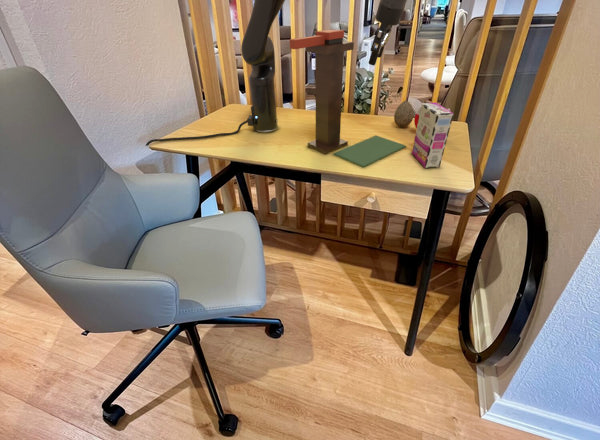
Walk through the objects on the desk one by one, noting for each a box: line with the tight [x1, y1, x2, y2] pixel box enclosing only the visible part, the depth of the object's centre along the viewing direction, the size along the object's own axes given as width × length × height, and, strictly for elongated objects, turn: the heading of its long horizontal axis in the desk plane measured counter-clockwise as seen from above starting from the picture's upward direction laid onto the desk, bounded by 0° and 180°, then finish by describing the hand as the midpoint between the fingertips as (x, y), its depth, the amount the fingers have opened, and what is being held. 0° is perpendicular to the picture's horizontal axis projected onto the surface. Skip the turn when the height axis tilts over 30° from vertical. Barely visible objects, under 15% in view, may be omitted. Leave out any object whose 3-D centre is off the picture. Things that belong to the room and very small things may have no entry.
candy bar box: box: [411, 102, 455, 169], centre depth 93 cm, size 11×5×16 cm, turn 5°
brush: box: [289, 29, 345, 50], centre depth 87 cm, size 17×6×3 cm, turn 130°
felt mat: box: [333, 135, 407, 168], centre depth 105 cm, size 22×13×1 cm, turn 130°
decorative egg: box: [393, 100, 415, 128], centre depth 119 cm, size 7×7×10 cm
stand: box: [305, 40, 355, 156], centre depth 100 cm, size 11×9×32 cm
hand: (374, 60), depth 103 cm, fingers open, 8 cm apart
